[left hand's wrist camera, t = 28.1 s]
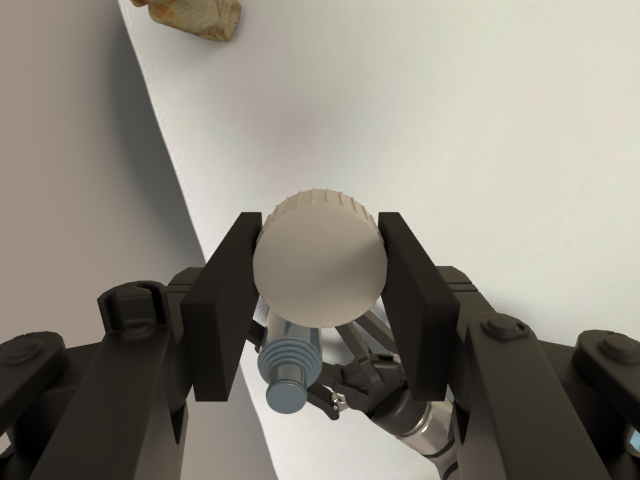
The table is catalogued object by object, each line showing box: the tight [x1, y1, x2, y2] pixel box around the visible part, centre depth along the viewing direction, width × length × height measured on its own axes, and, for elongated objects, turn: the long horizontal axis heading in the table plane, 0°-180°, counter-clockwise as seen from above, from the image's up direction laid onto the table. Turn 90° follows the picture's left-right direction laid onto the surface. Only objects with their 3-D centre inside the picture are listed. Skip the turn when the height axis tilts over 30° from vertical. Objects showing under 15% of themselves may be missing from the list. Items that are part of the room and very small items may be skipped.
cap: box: [253, 189, 387, 328], centre depth 13 cm, size 5×5×2 cm
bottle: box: [258, 309, 322, 414], centre depth 38 cm, size 6×6×17 cm
